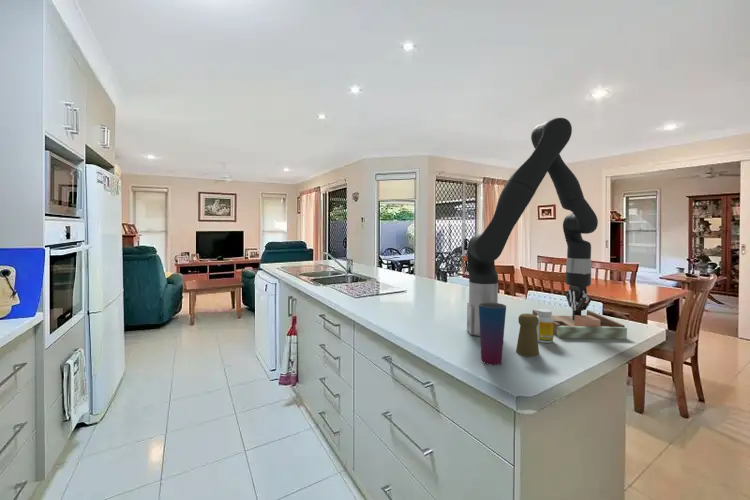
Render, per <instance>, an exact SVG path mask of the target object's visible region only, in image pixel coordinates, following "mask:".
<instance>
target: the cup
mask: <svg viewBox="0 0 750 500" xmlns="http://www.w3.org/2000/svg"><path fill="white" fill-rule="evenodd" d="M506 313H507V305H506V304H503V303H500V302H498V303H480V304H479V320H480V336H479V338H480V357H481V358H480V360H482V361H483V362H485V363H484V364H486V363H488V364H487V365H489V364H499V365H500V363H501V364H502V358H503V349H504V348H503V346H504V338H505V336H504V335H505V326H506V325H505V324H506V315H507V314H506ZM482 361H481V362H482ZM483 362H482V363H483Z"/></svg>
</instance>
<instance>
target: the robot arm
mask: <svg viewBox="0 0 750 500" xmlns="http://www.w3.org/2000/svg"><path fill="white" fill-rule="evenodd" d="M572 132H573V126H572V123H571V122H570V121H569V120H568V119H567V118H564V117H555V118H552V119H549V120H547V121H544V122H542V123H539V124H538V125H536V126H535V127H534V128H533V129H532V132H531V135H530V136H531V137H530V140H531V143H532V146H533V148H534V150H533V152H532V153H531V154H530V155H529V157H528V158H527V159H526V160H525V161H524V162H523V163H522V164H520V166H519V167H518V168H517V169H516V170H515V171H514V172H513V173H512V175H510V177H509V178H508V180H507V182H506V183H505V185H504V187H503V189H502V190H501V193H500V194H499V197H498V199H497V203H496V207H495V211H494V214H493V217H492V218H491V221H490V222H489V223H488V225H487V227H486V228H485V229H484V230H483V232H482V233H478V234H475V235H473V236H472V237H471V238H470V239H469V241H468V242H467V243H468V244H467V248H466V249H467V250H466V251H467V252H466V253H467V256H466V257H467V259H466V261H467V266H466V267H467V274H468V302H467V305H466V331H467V332H468V333H469V335H471V336H475V337H476V336H477V337H480V320H479V304H480V303H499V301H498V299H499V297H498V296H499V275H498V272H497V271H496V267H495V266H496V265H495V264H496V263H495V261H496V260H498V259H499V257H500V256H501V254H502V253H503V250H504V248H505V246H506V244H507V242H508V239H509V237H510V236H511V233H512V231H513V229H514V228H515V226H516V224H517V223H518V221H519V219H520V218H521V216H522V215H523V213H524V212H525V210H526V209H527V207H528V206H529V204H530V202H531V201H532V199H533V198H534V195H535V194H536V192H537V191H538V188H539V187H540V185H541V183H542V182H543V179H544V178H545V176H546V175H547V173H548V175H549V177H550V179H551V181H552V183H553V186H554V188H555V191H556V194H557V197H558V200H559V202H560V206H561V207H562V209H563V210H566V211H570V212H571V213H569V214H567V215H566V216H565V217H564V220H563V222H562V229H563V231H562V232H563V235H564V238H565V242H566V244H567V250H566V251H567V255H566V256H567V257H566V264H565V284H566V285H567V286H568V290H566V291H565V292H564V294H565V297H566V300H567V303H568V307H570V308H571V310H572V314H571V316H572V320H574V321H575V315H582V312H583V311H586V310H587V308H588V306H589V305H590V303H591V302H592V297H590V296H588V290H587V287H589V286H591V284H592V244H591V242H590V241H588V240H585V239H583V236H582V234H585V235H586V234H592V233H594V232H595V231H596V230H597V228H598V224H599V219H598V216H597V214H596V213H595V211H594V210H593V208H592V207H591V205H590V204H589V203H588V201H587V200H586V198H585V197H584V194H583V191H582V187H581V184H580V182H579V180H578V177H577V176H576V175H575V174H574V172H573V171H572V170H571V169H570V168H569V167H568V165H567V164H566V163H565V161H564V160H563V157H562V156H561V153H562V151H564V148H565V147H566V146H567V144H568V143H569V141H570V139H571V137H572Z"/></svg>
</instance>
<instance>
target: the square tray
mask: <svg viewBox="0 0 750 500" xmlns="http://www.w3.org/2000/svg"><path fill="white" fill-rule="evenodd" d="M532 314H533V315H536V316H538V314H537V310H536V309H532ZM586 315H590V316H592V317H595V318H597V319H599V320H601V321H600V327H589V326H575V325H574V322H575V321H574V320H572V315H551V316H550V317H552V318H553V320H554V326H553V336H555V337H556V338H558V339H599V340H600V339H604V340H605V339H609V340H610V339H611V340H616V339H617V340H619V339H620V340H626V339H628V337H627V335H628V327H626V326H625V325H624V324H622V323H619V322H618V321H615V320H613V319H610V318H609V317H605V316H604V315H602V314H598V313H595V312H594V311H592V310H587V311H586Z"/></svg>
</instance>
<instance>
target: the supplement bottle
mask: <svg viewBox="0 0 750 500" xmlns="http://www.w3.org/2000/svg"><path fill="white" fill-rule="evenodd" d="M536 311H537V314H538V316H537V317H538V320H539V323H538V325H537V326H536V330H537V339H538V343H542V344H543V343H544V344H551V343H553V342H554V335H553V326H554V320H553V318H552V317H550V316H553V315H552V313H553V312H552V310H550V309H546V308H545V309H544V308H538V309H537V310H536Z"/></svg>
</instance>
